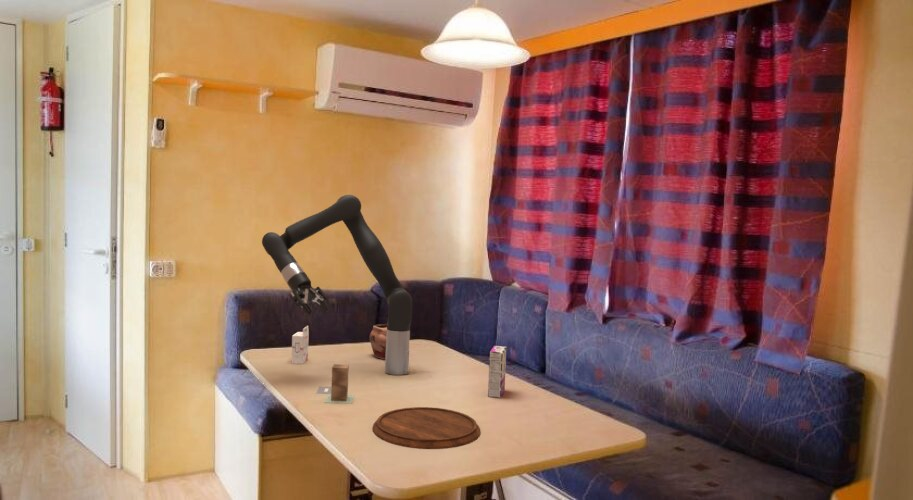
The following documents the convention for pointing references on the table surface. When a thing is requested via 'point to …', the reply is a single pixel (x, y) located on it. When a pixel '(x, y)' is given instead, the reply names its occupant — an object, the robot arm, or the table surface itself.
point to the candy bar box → (497, 371)
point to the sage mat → (349, 400)
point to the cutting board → (426, 428)
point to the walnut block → (339, 382)
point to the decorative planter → (379, 340)
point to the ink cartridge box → (300, 346)
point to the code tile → (324, 390)
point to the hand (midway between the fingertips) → (319, 312)
